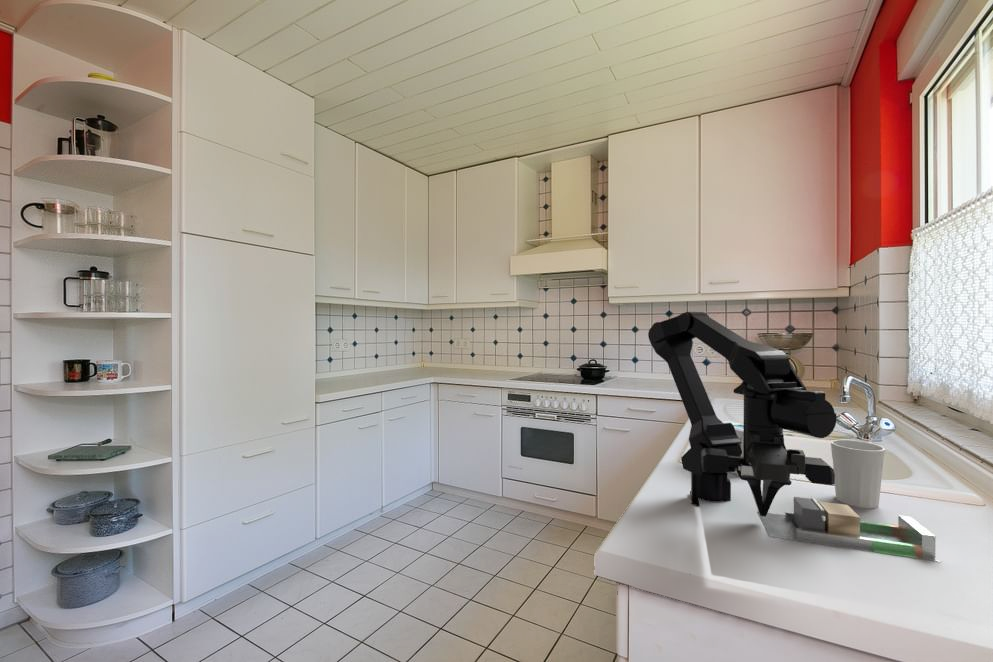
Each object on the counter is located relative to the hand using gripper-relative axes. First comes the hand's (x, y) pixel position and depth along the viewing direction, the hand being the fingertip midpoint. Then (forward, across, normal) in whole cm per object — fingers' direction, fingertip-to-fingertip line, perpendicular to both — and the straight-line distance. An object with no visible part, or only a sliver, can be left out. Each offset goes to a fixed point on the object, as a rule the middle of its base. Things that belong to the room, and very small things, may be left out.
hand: (762, 515), depth 74 cm
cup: (+3, +19, +17) cm, 25 cm away
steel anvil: (+1, +20, 0) cm, 20 cm away
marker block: (+1, +11, 0) cm, 11 cm away
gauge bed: (+2, +11, 0) cm, 11 cm away
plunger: (+1, +7, 0) cm, 7 cm away
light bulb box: (+3, 0, +34) cm, 34 cm away
